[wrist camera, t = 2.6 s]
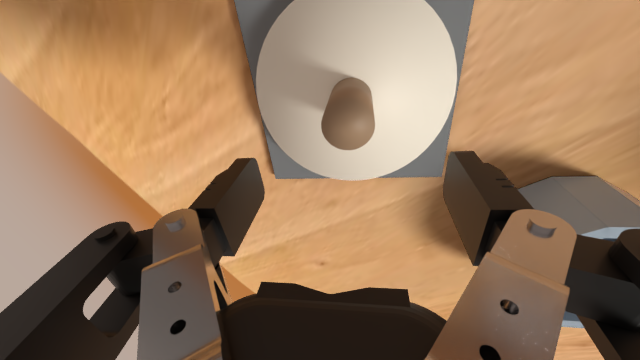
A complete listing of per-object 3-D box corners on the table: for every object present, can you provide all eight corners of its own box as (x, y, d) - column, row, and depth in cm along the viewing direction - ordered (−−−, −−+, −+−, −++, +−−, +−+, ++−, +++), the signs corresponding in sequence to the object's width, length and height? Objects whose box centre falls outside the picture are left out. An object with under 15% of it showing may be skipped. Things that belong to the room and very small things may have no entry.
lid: (239, -6, 17) (186, -11, 12) (471, -40, 15) (530, -64, 9) (280, 174, 25) (258, 218, 19) (436, 171, 22) (458, 221, 17)
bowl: (494, 177, 22) (531, 225, 17) (662, 175, 20) (758, 229, 15) (465, 267, 29) (486, 321, 24) (590, 272, 27) (642, 332, 22)
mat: (234, -15, 17) (230, -15, 17) (479, -51, 15) (483, -53, 14) (277, 175, 25) (275, 178, 25) (439, 173, 23) (441, 176, 22)
